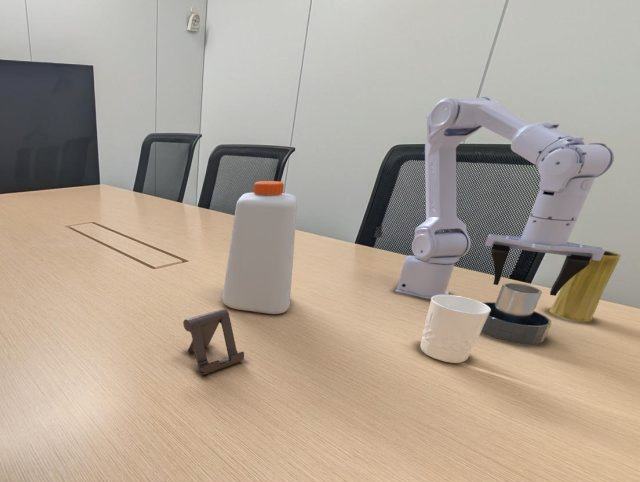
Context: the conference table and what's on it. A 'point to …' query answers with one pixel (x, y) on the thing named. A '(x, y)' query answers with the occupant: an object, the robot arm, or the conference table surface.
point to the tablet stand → (203, 333)
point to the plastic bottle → (261, 250)
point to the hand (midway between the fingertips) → (523, 288)
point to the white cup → (453, 327)
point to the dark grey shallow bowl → (517, 328)
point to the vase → (585, 289)
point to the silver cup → (516, 303)
